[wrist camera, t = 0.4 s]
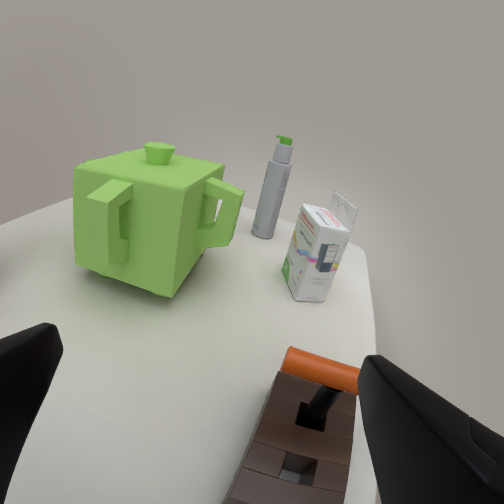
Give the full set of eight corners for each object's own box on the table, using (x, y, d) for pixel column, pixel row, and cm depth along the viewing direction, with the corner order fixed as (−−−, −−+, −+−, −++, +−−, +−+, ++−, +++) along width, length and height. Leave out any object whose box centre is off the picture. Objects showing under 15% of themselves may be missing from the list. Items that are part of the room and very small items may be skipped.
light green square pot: (195, 349, 28) (224, 183, 21) (35, 283, 29) (24, 147, 22) (239, 249, 51) (262, 152, 43) (125, 218, 52) (134, 128, 44)
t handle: (336, 454, 20) (397, 391, 16) (251, 429, 21) (285, 358, 17) (339, 438, 21) (395, 373, 17) (257, 414, 23) (291, 340, 19)
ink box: (279, 269, 48) (305, 183, 41) (307, 272, 49) (335, 190, 42) (293, 301, 40) (327, 202, 34) (324, 304, 41) (361, 210, 35)
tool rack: (318, 530, 13) (339, 523, 11) (220, 506, 14) (228, 497, 13) (340, 414, 24) (356, 394, 23) (268, 392, 25) (278, 370, 24)
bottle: (255, 227, 62) (278, 134, 53) (274, 234, 61) (300, 140, 52) (248, 233, 58) (272, 134, 49) (268, 241, 57) (295, 140, 48)
